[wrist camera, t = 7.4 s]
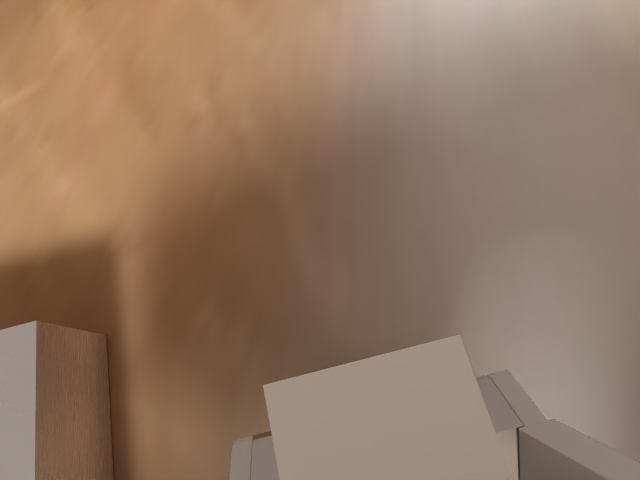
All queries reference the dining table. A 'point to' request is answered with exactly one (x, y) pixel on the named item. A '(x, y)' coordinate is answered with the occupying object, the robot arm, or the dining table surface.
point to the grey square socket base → (54, 404)
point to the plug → (386, 419)
